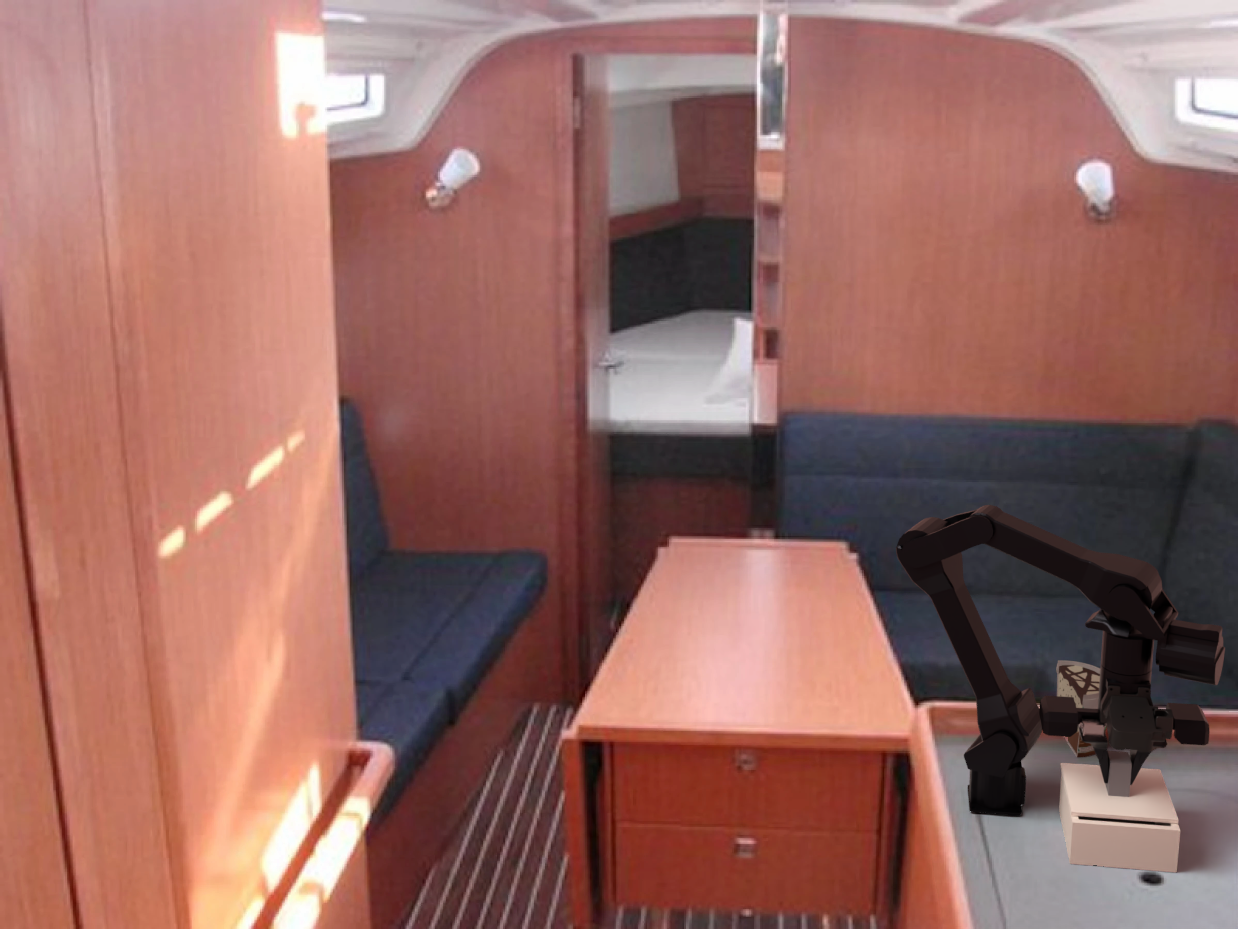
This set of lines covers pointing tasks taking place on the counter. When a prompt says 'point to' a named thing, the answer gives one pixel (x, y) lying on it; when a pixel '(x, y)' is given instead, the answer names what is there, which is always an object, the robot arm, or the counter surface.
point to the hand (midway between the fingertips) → (1117, 782)
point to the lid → (1117, 791)
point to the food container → (1079, 695)
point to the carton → (1119, 841)
